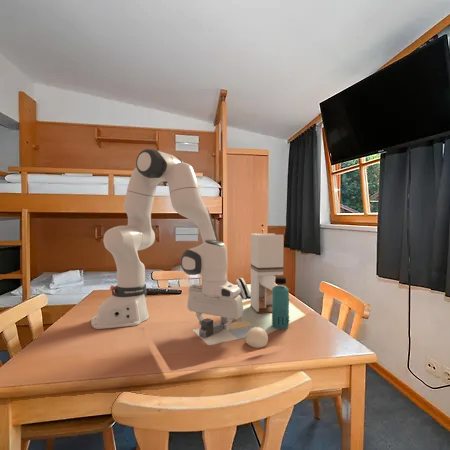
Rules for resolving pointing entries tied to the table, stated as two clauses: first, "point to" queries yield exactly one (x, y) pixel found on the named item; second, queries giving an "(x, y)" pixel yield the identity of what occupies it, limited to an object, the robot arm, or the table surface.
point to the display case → (265, 269)
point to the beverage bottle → (280, 304)
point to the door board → (227, 332)
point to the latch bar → (209, 327)
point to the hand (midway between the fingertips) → (214, 327)
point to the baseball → (256, 337)
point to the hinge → (243, 288)
